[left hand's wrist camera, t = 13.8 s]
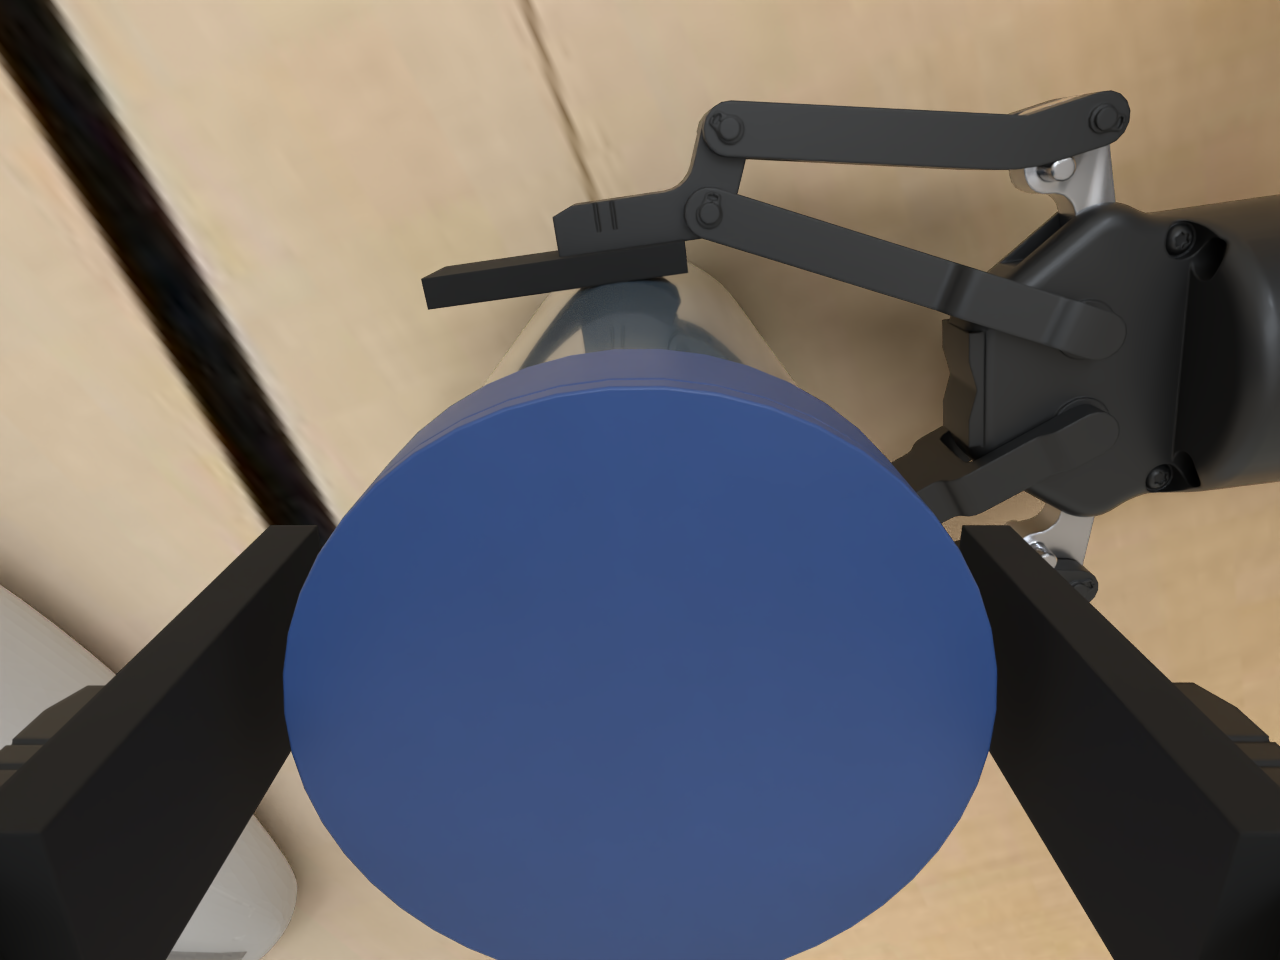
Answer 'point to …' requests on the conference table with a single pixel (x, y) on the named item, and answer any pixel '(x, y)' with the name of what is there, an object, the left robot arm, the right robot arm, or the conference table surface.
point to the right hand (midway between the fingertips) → (473, 446)
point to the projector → (255, 868)
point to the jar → (642, 324)
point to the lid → (640, 668)
